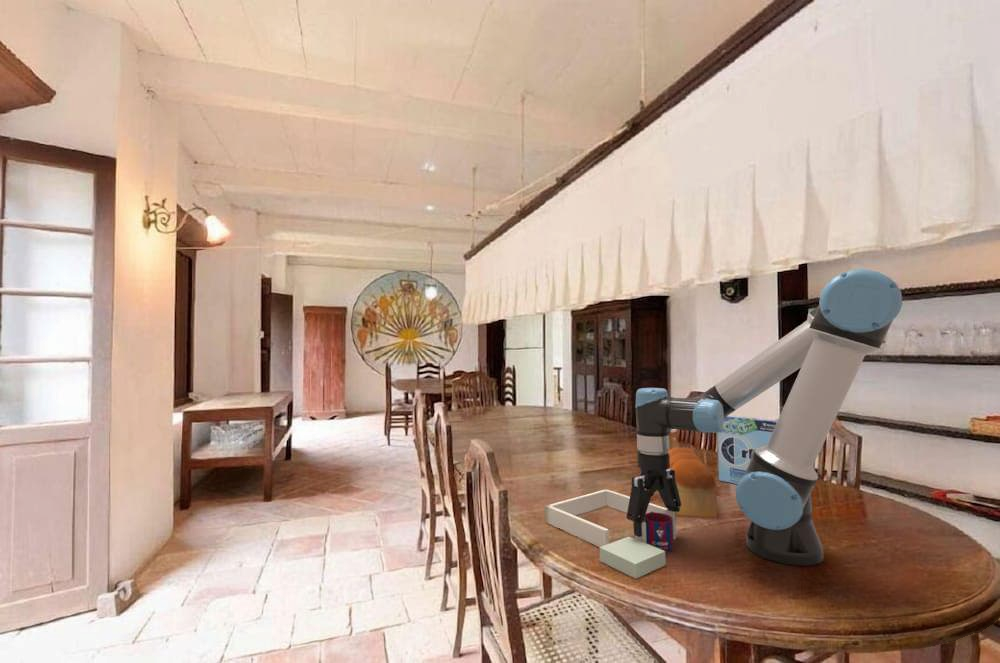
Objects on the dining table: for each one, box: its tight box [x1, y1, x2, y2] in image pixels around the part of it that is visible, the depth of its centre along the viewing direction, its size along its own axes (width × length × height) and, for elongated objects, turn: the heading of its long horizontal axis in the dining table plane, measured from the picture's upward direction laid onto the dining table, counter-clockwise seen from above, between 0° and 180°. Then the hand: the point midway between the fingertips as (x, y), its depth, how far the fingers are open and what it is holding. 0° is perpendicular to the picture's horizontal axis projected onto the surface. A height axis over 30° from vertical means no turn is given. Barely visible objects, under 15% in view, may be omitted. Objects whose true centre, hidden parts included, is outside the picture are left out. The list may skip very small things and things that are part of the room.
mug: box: [643, 512, 674, 553], centre depth 111 cm, size 7×10×7 cm
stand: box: [598, 536, 667, 579], centre depth 101 cm, size 10×10×3 cm
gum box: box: [717, 415, 778, 485], centre depth 156 cm, size 20×5×23 cm, turn 39°
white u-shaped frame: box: [544, 489, 668, 548], centre depth 124 cm, size 22×24×4 cm
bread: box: [667, 446, 719, 519], centre depth 140 cm, size 25×12×15 cm, turn 166°
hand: (656, 543), depth 110 cm, fingers open, 11 cm apart
